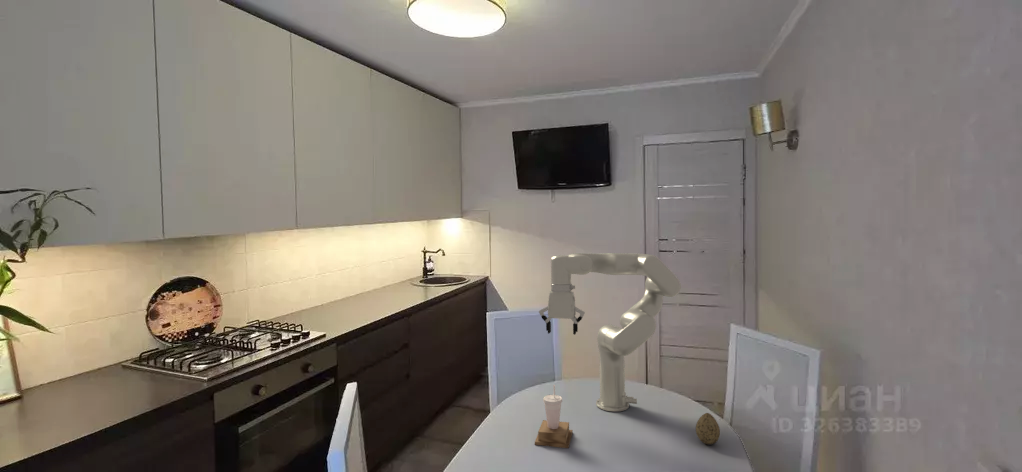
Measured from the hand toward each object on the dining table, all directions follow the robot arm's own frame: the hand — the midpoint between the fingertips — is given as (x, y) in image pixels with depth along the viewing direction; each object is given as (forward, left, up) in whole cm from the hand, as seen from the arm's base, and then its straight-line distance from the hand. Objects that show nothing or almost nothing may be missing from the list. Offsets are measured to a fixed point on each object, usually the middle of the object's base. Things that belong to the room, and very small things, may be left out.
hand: (561, 333), depth 175 cm
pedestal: (0, +22, -30) cm, 37 cm away
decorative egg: (-49, +15, -31) cm, 60 cm away
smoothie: (0, +22, -26) cm, 34 cm away
